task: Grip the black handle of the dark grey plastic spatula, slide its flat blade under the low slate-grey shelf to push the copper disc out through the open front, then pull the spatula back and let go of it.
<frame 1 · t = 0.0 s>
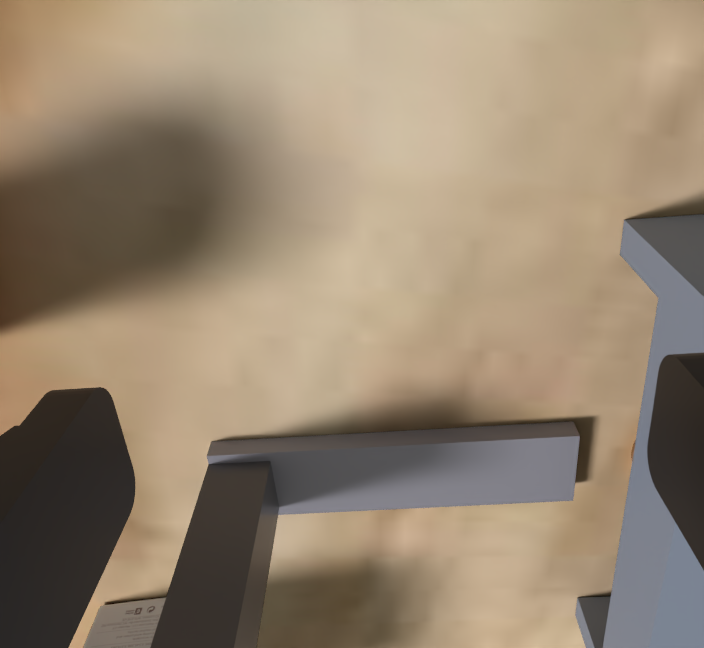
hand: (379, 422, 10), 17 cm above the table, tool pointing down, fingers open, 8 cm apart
spatula: (391, 462, 32), on the table
shelf: (679, 449, 31), on the table
small box: (173, 637, 39), on the table
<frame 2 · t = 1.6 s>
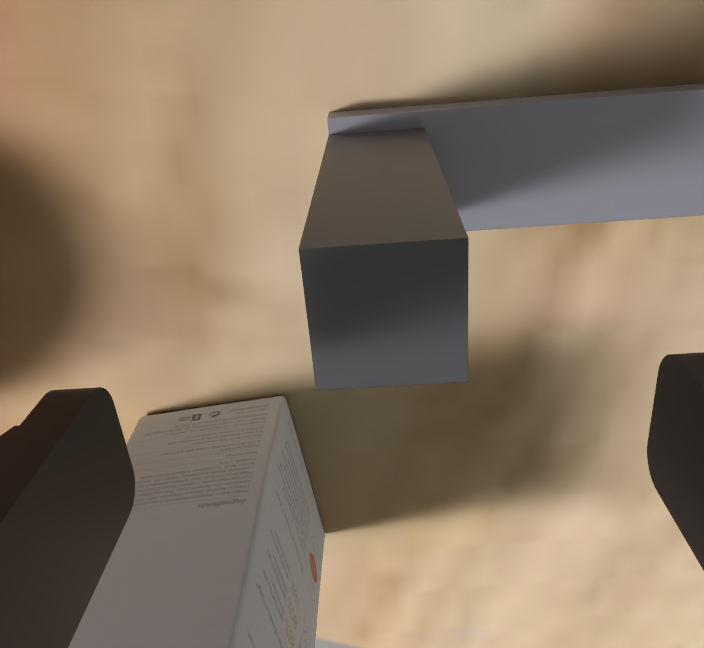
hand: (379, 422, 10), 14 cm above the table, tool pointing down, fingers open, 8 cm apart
spatula: (594, 153, 22), on the table
small box: (238, 474, 29), on the table
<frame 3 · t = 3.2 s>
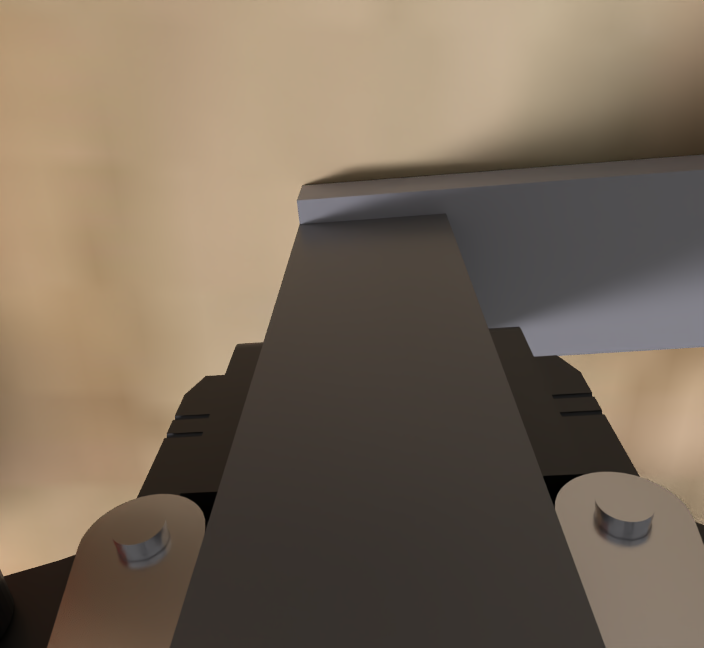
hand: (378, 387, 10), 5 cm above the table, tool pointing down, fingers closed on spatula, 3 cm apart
spatula: (697, 243, 15), on the table, touching gripper
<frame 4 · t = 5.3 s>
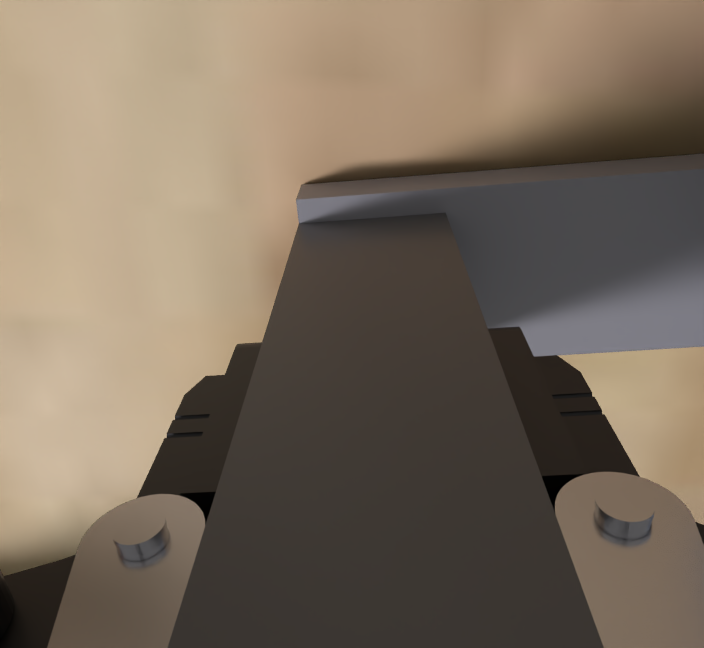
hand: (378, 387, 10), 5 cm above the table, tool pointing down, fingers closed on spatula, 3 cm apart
spatula: (697, 242, 15), on the table, touching gripper, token
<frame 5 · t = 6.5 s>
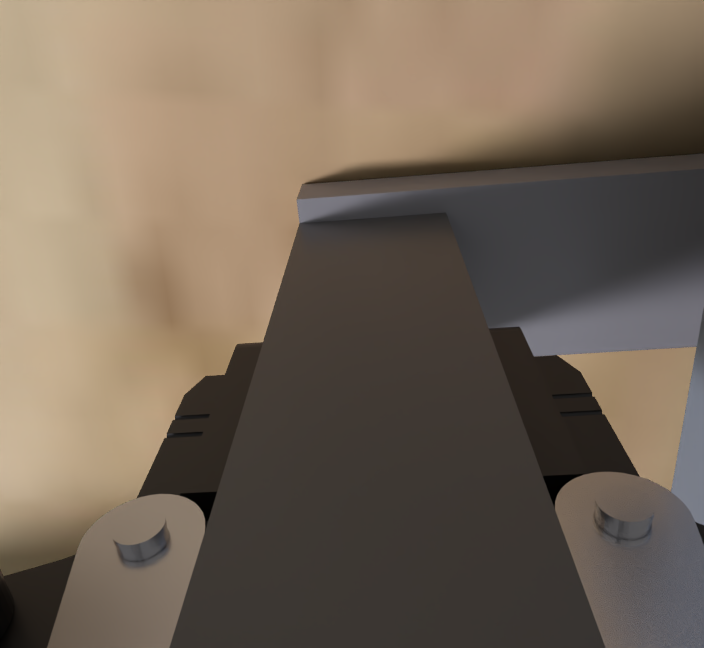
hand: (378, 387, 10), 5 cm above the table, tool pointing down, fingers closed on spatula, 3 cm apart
spatula: (698, 242, 15), on the table, touching gripper
when the fingers open (5 cm above the table, at t = 8.8 s): spatula stays where it is, on the table.
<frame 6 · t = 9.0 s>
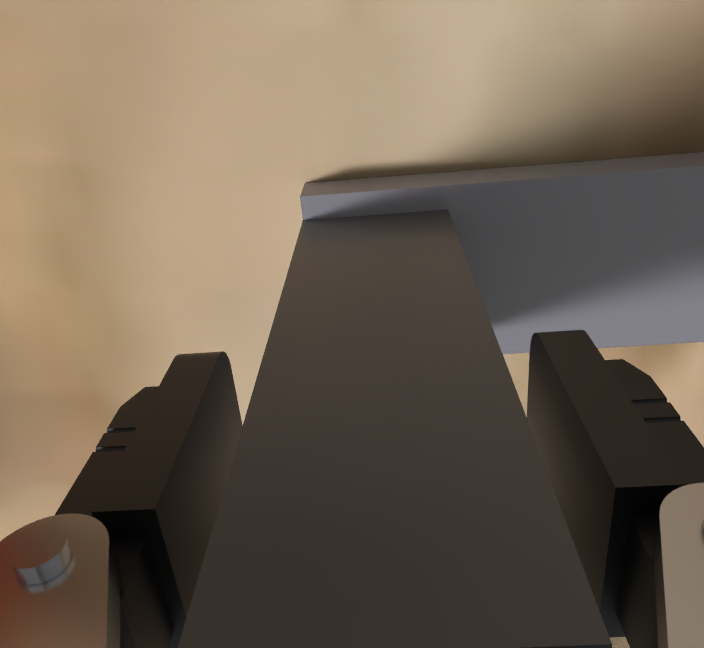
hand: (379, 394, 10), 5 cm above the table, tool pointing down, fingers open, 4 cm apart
spatula: (697, 239, 15), on the table
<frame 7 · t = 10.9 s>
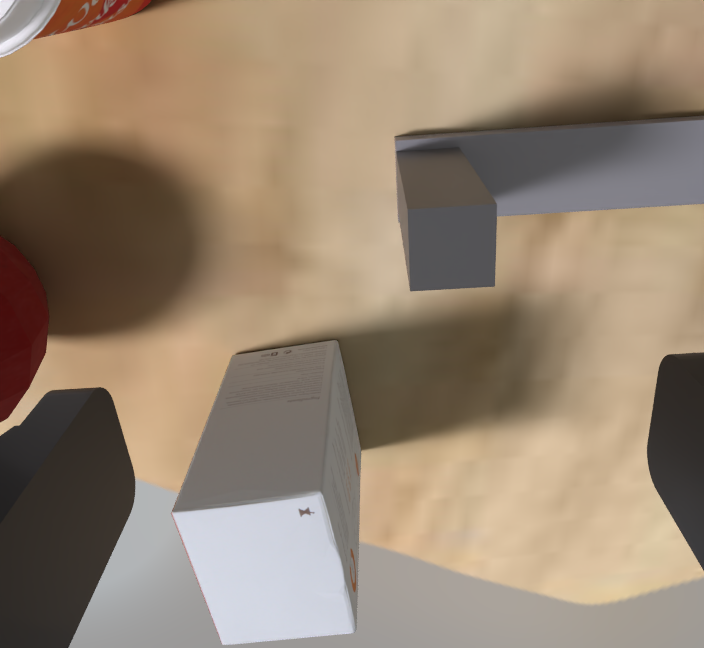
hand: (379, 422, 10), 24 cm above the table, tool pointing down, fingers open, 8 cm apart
spatula: (572, 165, 32), on the table
small box: (298, 402, 39), on the table
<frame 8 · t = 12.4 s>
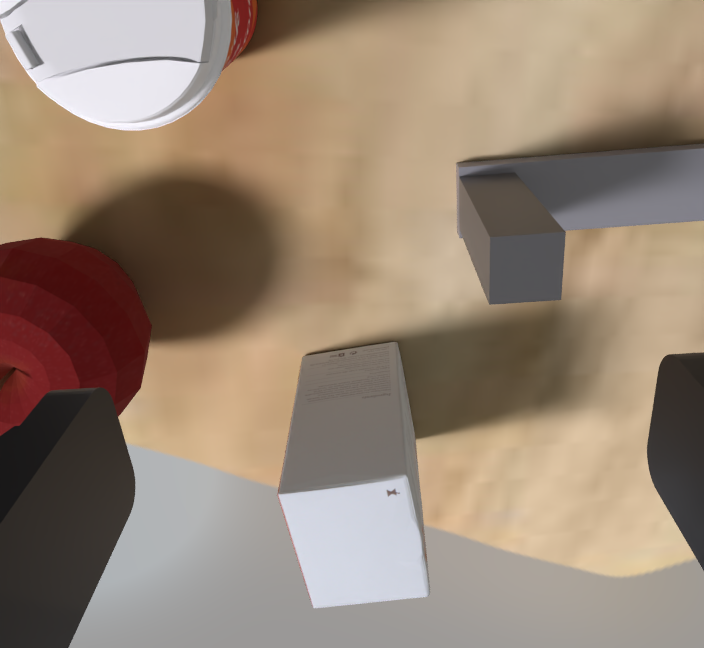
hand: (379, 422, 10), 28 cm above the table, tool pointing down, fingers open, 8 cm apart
apple: (90, 290, 40), on the table
spatula: (613, 185, 36), on the table
paper cup: (205, 5, 33), on the table
small box: (360, 397, 43), on the table
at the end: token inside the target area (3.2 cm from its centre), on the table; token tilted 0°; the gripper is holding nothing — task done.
